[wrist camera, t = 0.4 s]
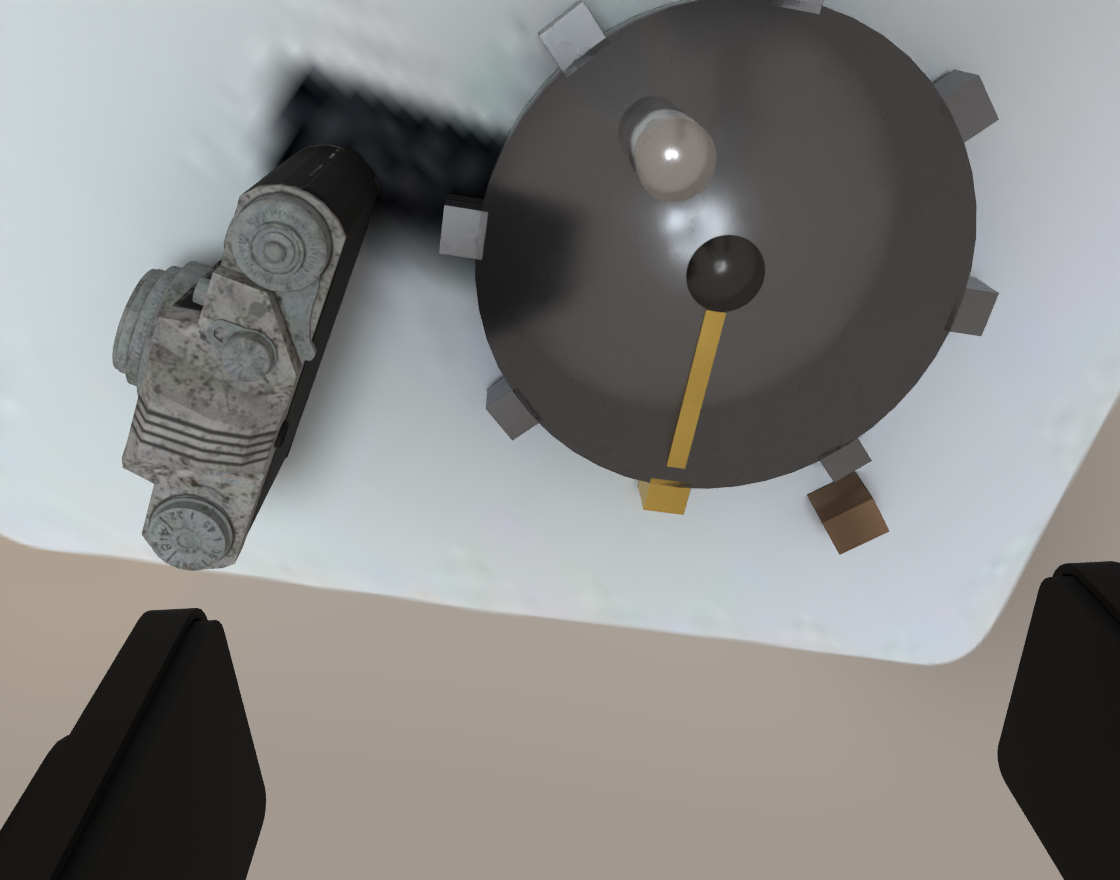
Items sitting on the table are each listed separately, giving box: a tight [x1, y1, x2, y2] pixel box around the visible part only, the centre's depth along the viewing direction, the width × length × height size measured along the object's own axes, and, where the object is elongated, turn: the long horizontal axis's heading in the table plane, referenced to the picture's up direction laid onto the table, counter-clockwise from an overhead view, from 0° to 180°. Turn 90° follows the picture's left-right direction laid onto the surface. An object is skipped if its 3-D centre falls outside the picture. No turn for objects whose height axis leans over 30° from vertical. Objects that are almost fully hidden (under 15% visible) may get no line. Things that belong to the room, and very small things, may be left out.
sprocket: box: [439, 0, 999, 515], centre depth 32 cm, size 22×22×8 cm
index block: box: [808, 472, 889, 555], centre depth 41 cm, size 2×2×2 cm
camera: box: [112, 144, 379, 571], centre depth 32 cm, size 15×7×10 cm, turn 156°
